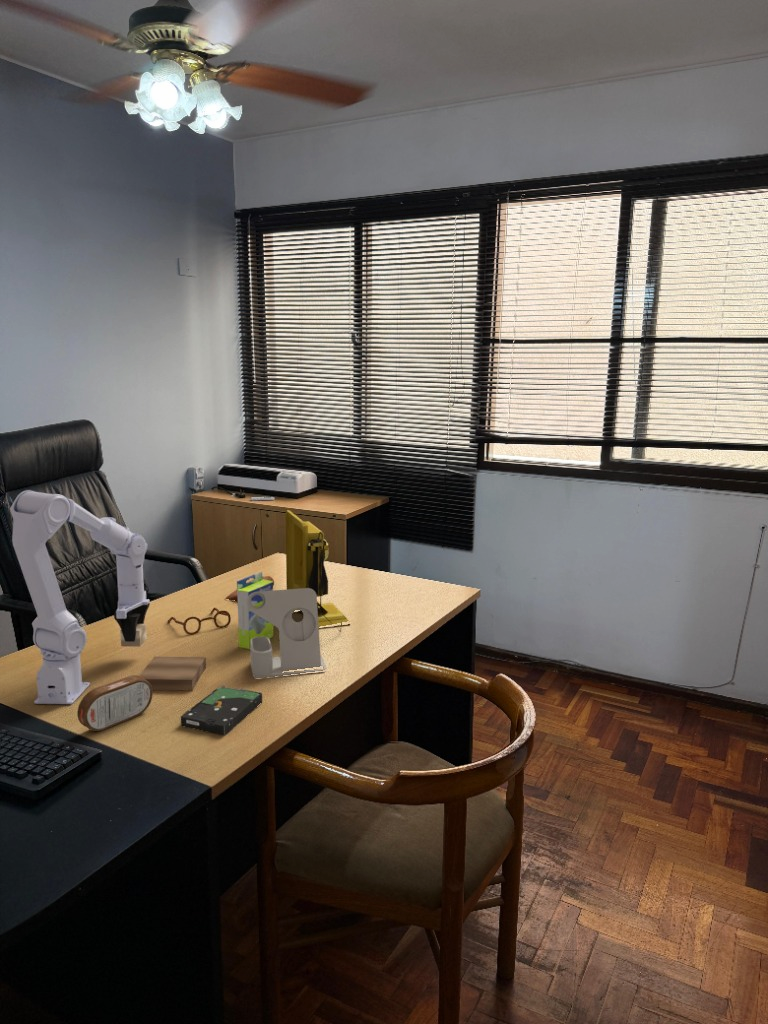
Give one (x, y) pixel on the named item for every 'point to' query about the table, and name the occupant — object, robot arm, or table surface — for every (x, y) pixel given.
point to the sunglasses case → (234, 594)
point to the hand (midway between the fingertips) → (133, 637)
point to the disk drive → (221, 710)
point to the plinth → (174, 672)
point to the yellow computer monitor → (309, 565)
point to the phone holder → (287, 633)
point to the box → (247, 620)
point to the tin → (114, 703)
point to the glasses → (203, 620)
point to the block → (139, 637)
